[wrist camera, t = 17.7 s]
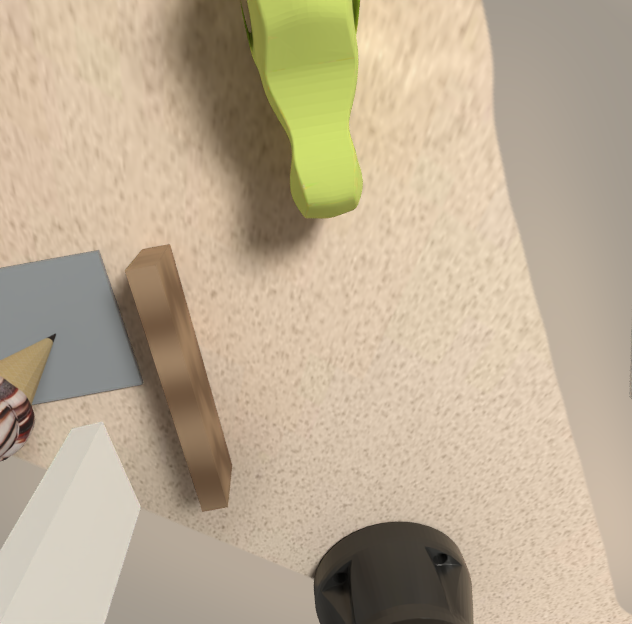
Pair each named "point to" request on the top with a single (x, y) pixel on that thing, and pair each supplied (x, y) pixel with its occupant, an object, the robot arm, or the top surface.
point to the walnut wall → (181, 372)
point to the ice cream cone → (20, 394)
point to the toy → (312, 94)
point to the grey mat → (67, 325)
